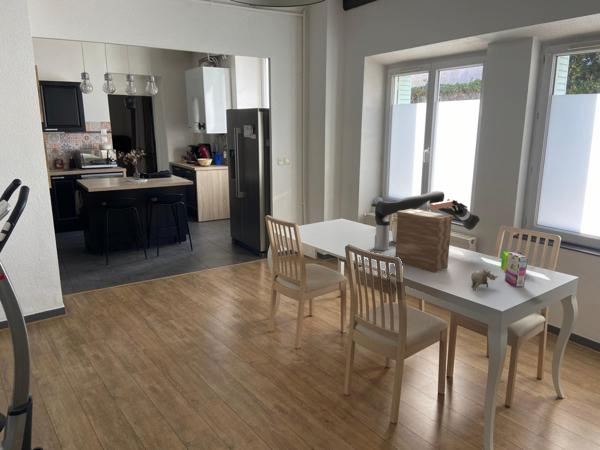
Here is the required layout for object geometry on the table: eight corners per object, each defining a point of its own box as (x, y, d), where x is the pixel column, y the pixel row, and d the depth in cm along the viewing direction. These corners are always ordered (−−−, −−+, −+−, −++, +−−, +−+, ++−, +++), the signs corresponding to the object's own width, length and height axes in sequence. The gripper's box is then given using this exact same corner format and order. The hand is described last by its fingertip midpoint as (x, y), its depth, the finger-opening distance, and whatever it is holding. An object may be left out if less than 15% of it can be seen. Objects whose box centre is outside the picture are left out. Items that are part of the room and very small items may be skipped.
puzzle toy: (523, 273, 255) (525, 257, 253) (504, 272, 257) (506, 255, 255) (518, 268, 265) (520, 252, 263) (500, 267, 267) (502, 251, 264)
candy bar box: (524, 287, 232) (528, 257, 229) (515, 287, 232) (519, 257, 228) (512, 280, 243) (516, 251, 239) (504, 280, 242) (507, 251, 239)
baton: (433, 209, 253) (434, 204, 253) (429, 208, 255) (429, 203, 255) (456, 205, 270) (457, 200, 270) (452, 204, 272) (452, 199, 272)
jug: (388, 242, 322) (390, 209, 317) (392, 238, 336) (394, 206, 331) (410, 245, 317) (412, 210, 311) (413, 240, 331) (415, 207, 325)
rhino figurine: (460, 283, 229) (475, 259, 230) (471, 293, 237) (486, 270, 238) (472, 289, 223) (488, 264, 224) (484, 299, 231) (499, 275, 232)
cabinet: (435, 273, 254) (439, 218, 247) (393, 261, 275) (396, 211, 268) (448, 268, 263) (453, 215, 257) (407, 257, 285) (411, 208, 278)
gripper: (453, 205, 284) (442, 194, 273) (474, 208, 274) (463, 196, 263) (449, 215, 283) (438, 204, 272) (470, 219, 273) (459, 208, 261)
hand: (450, 200), depth 267 cm, fingers closed on baton, 3 cm apart
